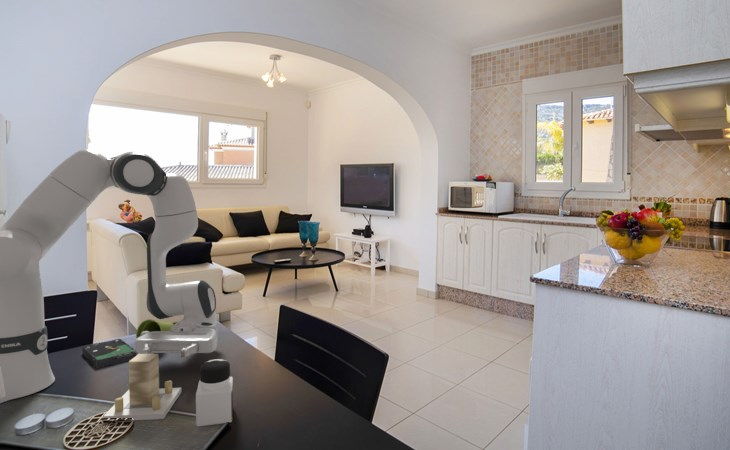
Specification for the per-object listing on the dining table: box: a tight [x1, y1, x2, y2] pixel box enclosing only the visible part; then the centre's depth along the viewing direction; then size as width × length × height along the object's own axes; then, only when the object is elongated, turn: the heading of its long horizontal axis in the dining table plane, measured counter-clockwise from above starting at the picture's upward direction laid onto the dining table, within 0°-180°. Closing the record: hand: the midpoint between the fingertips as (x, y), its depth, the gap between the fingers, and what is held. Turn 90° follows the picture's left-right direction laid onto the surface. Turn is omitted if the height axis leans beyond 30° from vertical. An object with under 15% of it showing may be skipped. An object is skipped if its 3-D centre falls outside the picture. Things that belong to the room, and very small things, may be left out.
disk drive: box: [82, 338, 137, 369], centre depth 122 cm, size 10×3×15 cm
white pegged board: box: [102, 380, 182, 421], centre depth 93 cm, size 12×12×4 cm
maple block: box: [128, 353, 160, 406], centre depth 93 cm, size 4×4×10 cm
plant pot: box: [135, 318, 175, 340], centre depth 131 cm, size 9×9×9 cm
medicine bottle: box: [195, 358, 234, 428], centre depth 89 cm, size 7×7×12 cm
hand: (164, 353), depth 103 cm, fingers open, 8 cm apart
